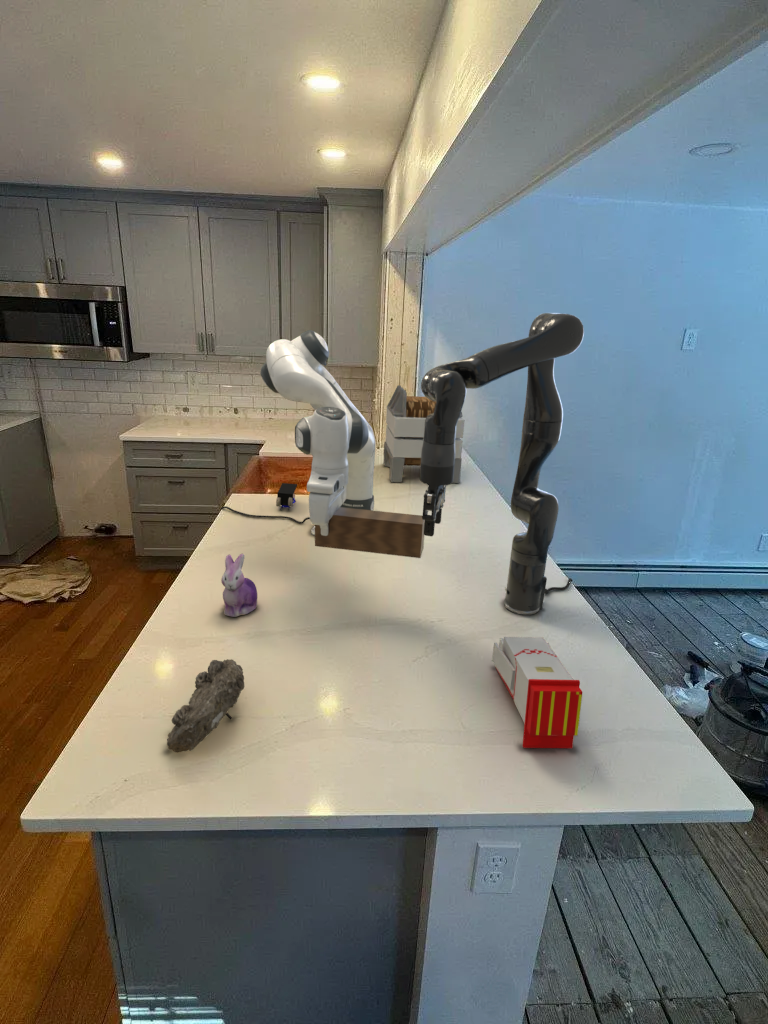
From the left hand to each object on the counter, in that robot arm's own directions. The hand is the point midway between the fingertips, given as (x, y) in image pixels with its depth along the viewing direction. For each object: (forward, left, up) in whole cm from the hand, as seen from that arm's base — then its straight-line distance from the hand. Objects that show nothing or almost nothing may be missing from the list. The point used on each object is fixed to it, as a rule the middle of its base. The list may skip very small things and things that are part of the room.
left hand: (329, 529), depth 141 cm
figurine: (-21, -9, -22) cm, 32 cm away
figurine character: (-44, +68, -22) cm, 84 cm away
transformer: (-6, +137, -22) cm, 139 cm away
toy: (+52, -22, -22) cm, 61 cm away
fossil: (-6, -47, -22) cm, 52 cm away
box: (+10, +1, -4) cm, 11 cm away
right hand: (+26, -2, +5) cm, 27 cm away
